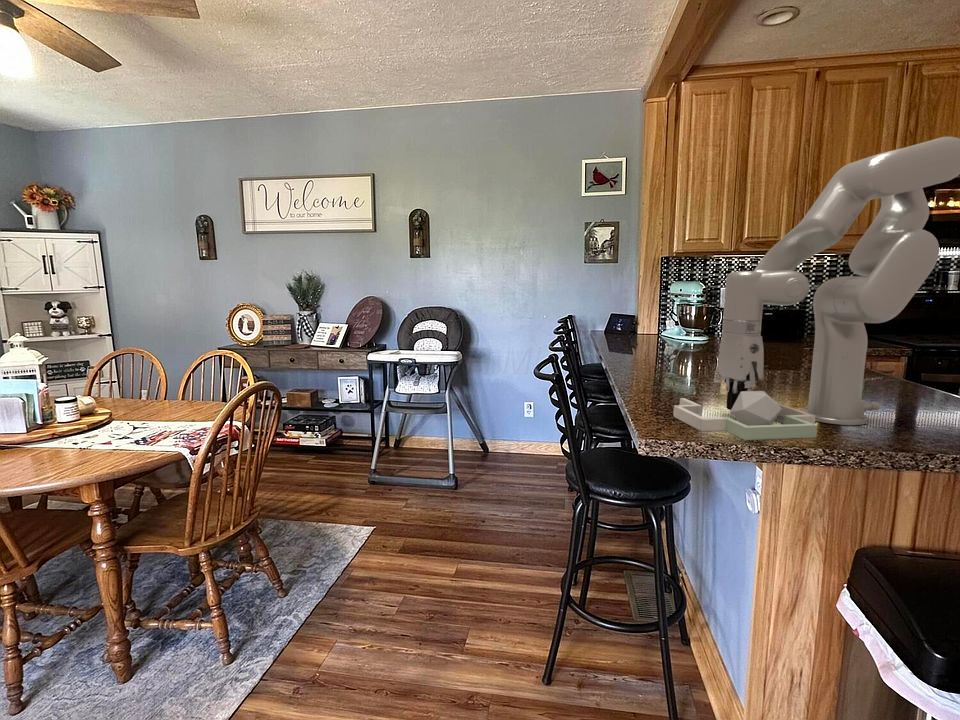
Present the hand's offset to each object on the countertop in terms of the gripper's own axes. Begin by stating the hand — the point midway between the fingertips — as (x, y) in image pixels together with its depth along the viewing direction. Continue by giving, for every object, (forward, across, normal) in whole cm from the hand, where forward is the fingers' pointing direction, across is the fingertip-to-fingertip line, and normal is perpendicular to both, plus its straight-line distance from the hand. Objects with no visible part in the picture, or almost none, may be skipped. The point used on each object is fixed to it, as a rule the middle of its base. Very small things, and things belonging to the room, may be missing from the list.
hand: (735, 409), depth 111 cm
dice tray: (+2, -2, 0) cm, 3 cm away
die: (+3, -7, 0) cm, 7 cm away
